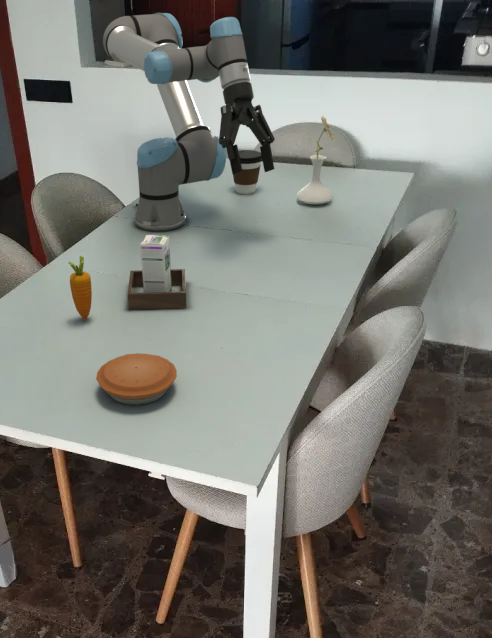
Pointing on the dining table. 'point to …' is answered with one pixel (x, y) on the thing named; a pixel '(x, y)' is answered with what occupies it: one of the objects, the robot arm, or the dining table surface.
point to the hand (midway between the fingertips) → (254, 171)
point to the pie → (136, 378)
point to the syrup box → (156, 264)
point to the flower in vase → (317, 177)
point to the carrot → (81, 289)
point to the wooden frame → (157, 293)
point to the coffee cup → (248, 172)
